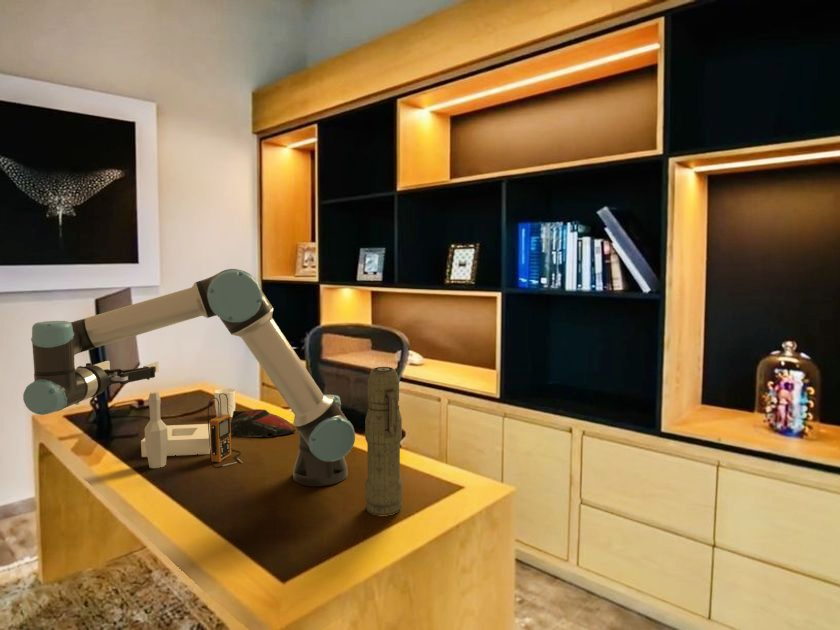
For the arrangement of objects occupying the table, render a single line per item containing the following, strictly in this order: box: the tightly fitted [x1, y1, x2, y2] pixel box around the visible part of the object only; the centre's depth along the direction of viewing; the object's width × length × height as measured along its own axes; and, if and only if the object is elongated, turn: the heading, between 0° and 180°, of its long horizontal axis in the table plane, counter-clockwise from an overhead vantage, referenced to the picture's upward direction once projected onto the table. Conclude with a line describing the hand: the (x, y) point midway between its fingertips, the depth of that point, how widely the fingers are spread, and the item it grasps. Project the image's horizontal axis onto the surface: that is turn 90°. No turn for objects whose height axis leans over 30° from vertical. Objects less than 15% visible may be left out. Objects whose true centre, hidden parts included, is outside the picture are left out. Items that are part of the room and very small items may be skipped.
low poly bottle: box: [144, 391, 168, 469], centre depth 167 cm, size 6×6×22 cm
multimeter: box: [207, 393, 244, 469], centre depth 172 cm, size 15×10×20 cm
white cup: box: [213, 388, 237, 418], centre depth 219 cm, size 8×8×10 cm
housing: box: [140, 423, 211, 458], centre depth 184 cm, size 16×20×5 cm
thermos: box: [364, 366, 403, 515], centre depth 138 cm, size 9×12×35 cm
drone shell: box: [230, 408, 297, 438], centre depth 201 cm, size 21×20×8 cm
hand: (132, 366), depth 155 cm, fingers open, 13 cm apart
